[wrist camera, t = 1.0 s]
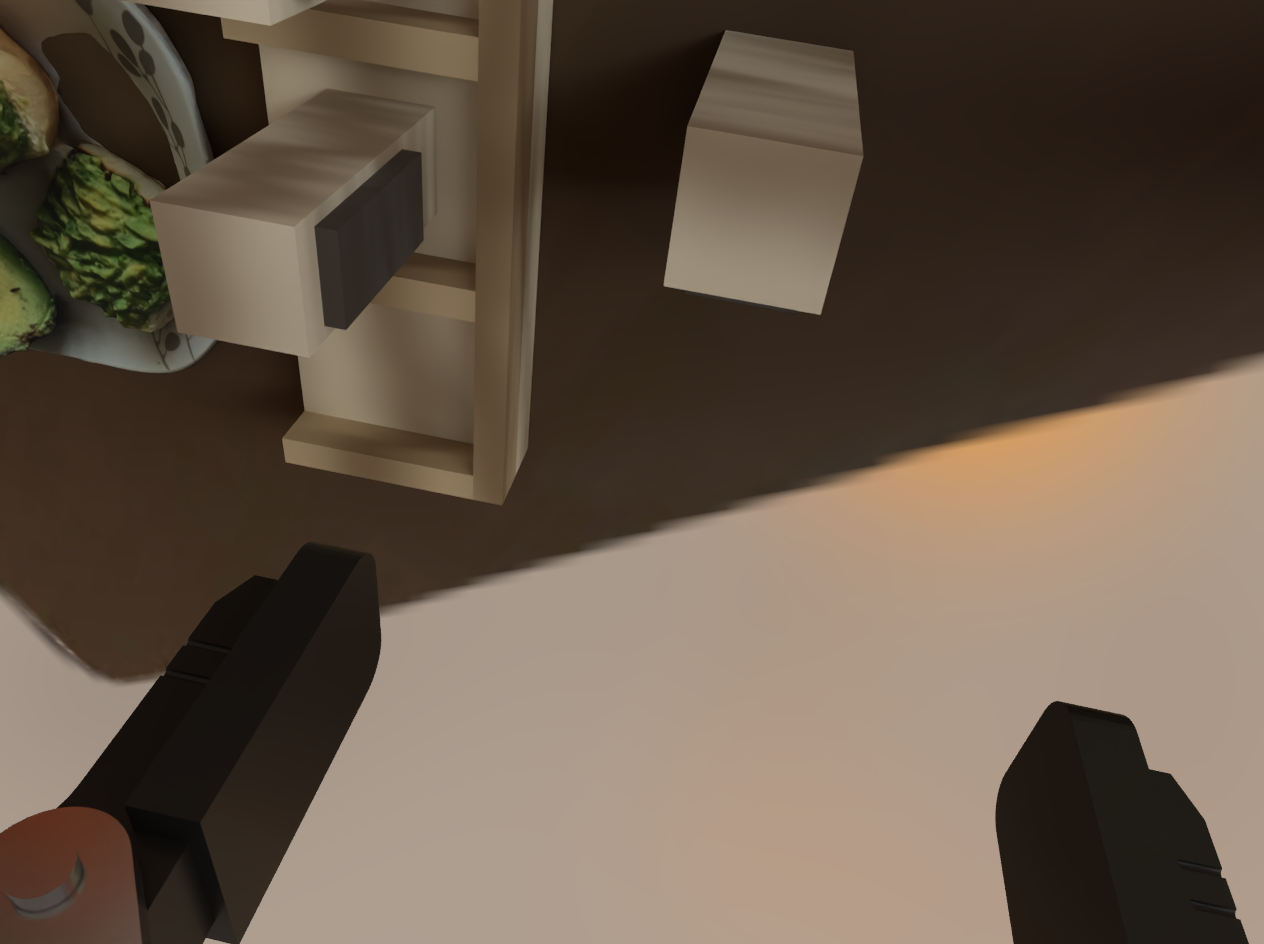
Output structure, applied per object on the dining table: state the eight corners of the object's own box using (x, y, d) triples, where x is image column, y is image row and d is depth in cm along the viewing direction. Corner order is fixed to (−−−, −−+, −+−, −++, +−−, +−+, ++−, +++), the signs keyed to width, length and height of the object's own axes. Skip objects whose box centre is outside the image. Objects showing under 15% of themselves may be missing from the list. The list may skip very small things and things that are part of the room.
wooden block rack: (571, -313, 24) (409, -369, 15) (527, 447, 40) (434, 656, 30) (246, -360, 25) (-108, -441, 16) (327, 408, 40) (175, 601, 31)
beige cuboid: (817, 195, 31) (814, 335, 23) (701, 174, 32) (660, 307, 24) (853, 51, 29) (863, 156, 21) (725, 30, 29) (687, 126, 21)
